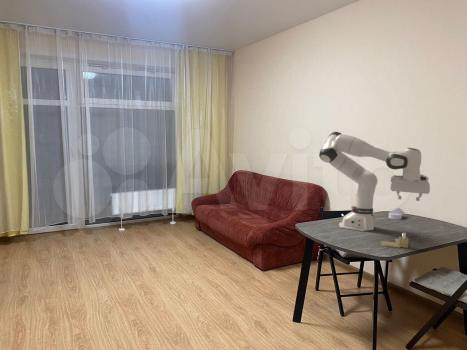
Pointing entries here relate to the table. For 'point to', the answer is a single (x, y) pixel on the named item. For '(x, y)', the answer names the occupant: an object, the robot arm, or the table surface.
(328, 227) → the table surface
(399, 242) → the hinge leaves
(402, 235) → the pin
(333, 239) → the table surface
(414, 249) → the table surface
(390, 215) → the wedge on round base
